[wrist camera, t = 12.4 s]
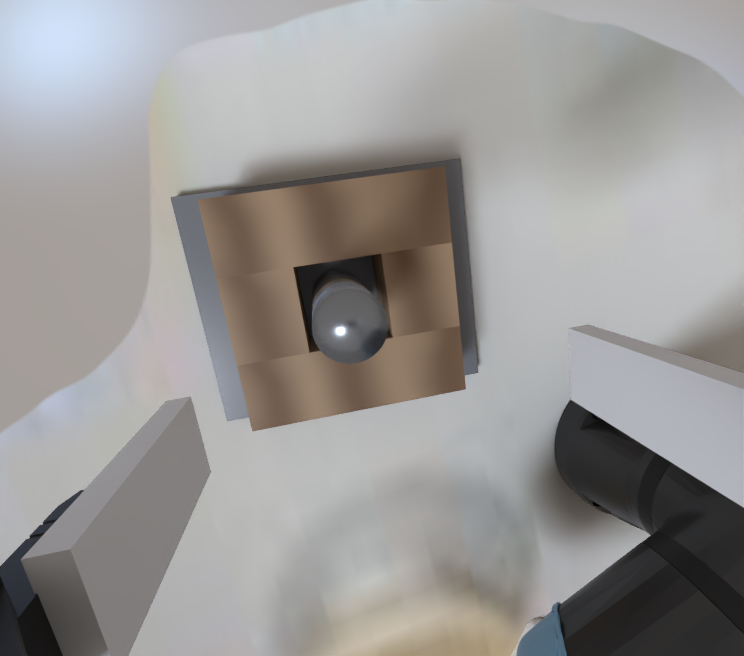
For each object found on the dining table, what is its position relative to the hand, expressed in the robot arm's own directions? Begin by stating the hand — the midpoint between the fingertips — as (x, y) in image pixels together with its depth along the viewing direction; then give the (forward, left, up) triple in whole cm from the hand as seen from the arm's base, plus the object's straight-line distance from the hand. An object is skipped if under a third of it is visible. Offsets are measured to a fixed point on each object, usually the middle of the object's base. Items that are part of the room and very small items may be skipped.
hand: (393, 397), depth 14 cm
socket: (0, -1, -21) cm, 21 cm away
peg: (+1, -1, -20) cm, 20 cm away
